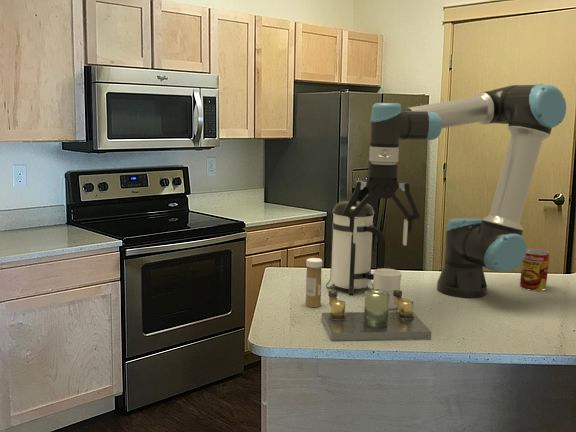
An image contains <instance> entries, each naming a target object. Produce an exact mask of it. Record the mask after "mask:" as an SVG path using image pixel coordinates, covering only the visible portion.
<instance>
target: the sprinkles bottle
mask: <svg viewBox="0 0 576 432" xmlns="http://www.w3.org/2000/svg"><path fill="white" fill-rule="evenodd" d="M305 264H306V265H305V266H306V276H305V305H306V306H307V307H310V308H318V307H320V306H322V303H321V301H322V299H321V297H322V268H323V260H322V258H319V257H318V258H316V257H310V258H307V259H306V263H305Z"/></svg>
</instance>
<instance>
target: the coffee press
mask: <svg viewBox="0 0 576 432" xmlns="http://www.w3.org/2000/svg"><path fill="white" fill-rule="evenodd" d="M351 196H352V194H351V195H350V197H349V199H350V198H351ZM358 199H359V196H357V198H356V200H355V202H354V204H353V206H352V207H351V209H350V211H349V212H352V211H353V210H354V209H355V208H356V207H357V206H358V204H359V203H360V202H361V201H359V200H358ZM357 200H358V201H357ZM348 202H349V200H345V201H340V202H338V203H336V204H335V205H334V207H333V209H331V210H332V214H333V220H332V224H331V225H332V227H331V231H332V232H331V238H332V241H331V252H330V253H331V254H330V263H331V267H330V276H329V280H328V282H326V284H325V285H326V289H328V290H330V289H331V288H333V287H334V286H335V287H337V288H340V289H345V290H347V289H348V296H354V293H355V292H354V290H360V289H362V288H363V289H365V288H367V289H368V290H372V289H374V286H373V284H374V283H373V282H372V281H374V273H372V260H373V238H374V235H375V236H376V238H377V241H378V251H377V252H378V254H377V269H385V256H386V239H385V235H384V233H383V232H382V231H381V229H379V228H378V227H376V226H374V222H373V221H374V215H375V210H374V208H373V206H372V205H371V204H369V203H367V204H366V205H365V206H364V207H363V209H362V210H361V211H360V212H359V213H358V214H357V215H356V216H355V217H356V218H357V235H356V243H353V232H354V230H350V228H349V225H350V218H349V217H347V216H344V215H343V211H344V209H345V207H346V206H347V204H348ZM330 282H331V283H332V285H330V286H328V284H330ZM369 284H371V285H372V288H370V286H369Z"/></svg>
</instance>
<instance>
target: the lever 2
mask: <svg viewBox="0 0 576 432" xmlns="http://www.w3.org/2000/svg"><path fill="white" fill-rule="evenodd" d="M393 296H394V304H395V306H396V308H397V309H398V312H399V317H400V318H404V319H410V318H412V316H413V312H414V301H413V300H410V299H404V298H403V297H402V296H403V291H402V290H401V289H400V290H394V291H393Z"/></svg>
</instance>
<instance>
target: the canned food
mask: <svg viewBox="0 0 576 432" xmlns="http://www.w3.org/2000/svg"><path fill="white" fill-rule="evenodd" d="M549 263H550V251H547V250H544V249H537V248H527V251H526V255H525V258H524V259H523V261H522V263H521V270H520V271H521V272H520V278H519V281H520V282H519V287H520V288H521V287H522V288H521V289H523V288H525V289H524V290H526V289H530V290H542V289H545V288H546V289H547V283H548V280H547V279H548V271H549ZM530 290H529V291H530Z"/></svg>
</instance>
